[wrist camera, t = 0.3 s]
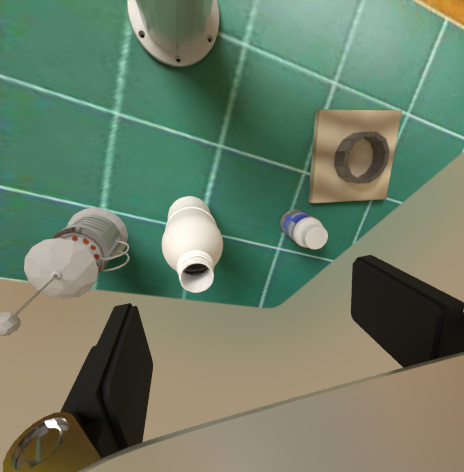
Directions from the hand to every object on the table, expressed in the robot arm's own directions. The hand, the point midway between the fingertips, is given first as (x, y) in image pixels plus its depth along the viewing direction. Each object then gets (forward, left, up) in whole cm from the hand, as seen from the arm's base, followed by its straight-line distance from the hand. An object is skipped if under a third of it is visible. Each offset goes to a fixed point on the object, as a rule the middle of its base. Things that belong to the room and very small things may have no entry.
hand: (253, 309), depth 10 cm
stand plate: (-5, +29, -36) cm, 46 cm away
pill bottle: (+7, +18, -36) cm, 41 cm away
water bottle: (+4, -2, -36) cm, 37 cm away
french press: (+7, -17, -36) cm, 41 cm away
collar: (-5, +29, -35) cm, 45 cm away
